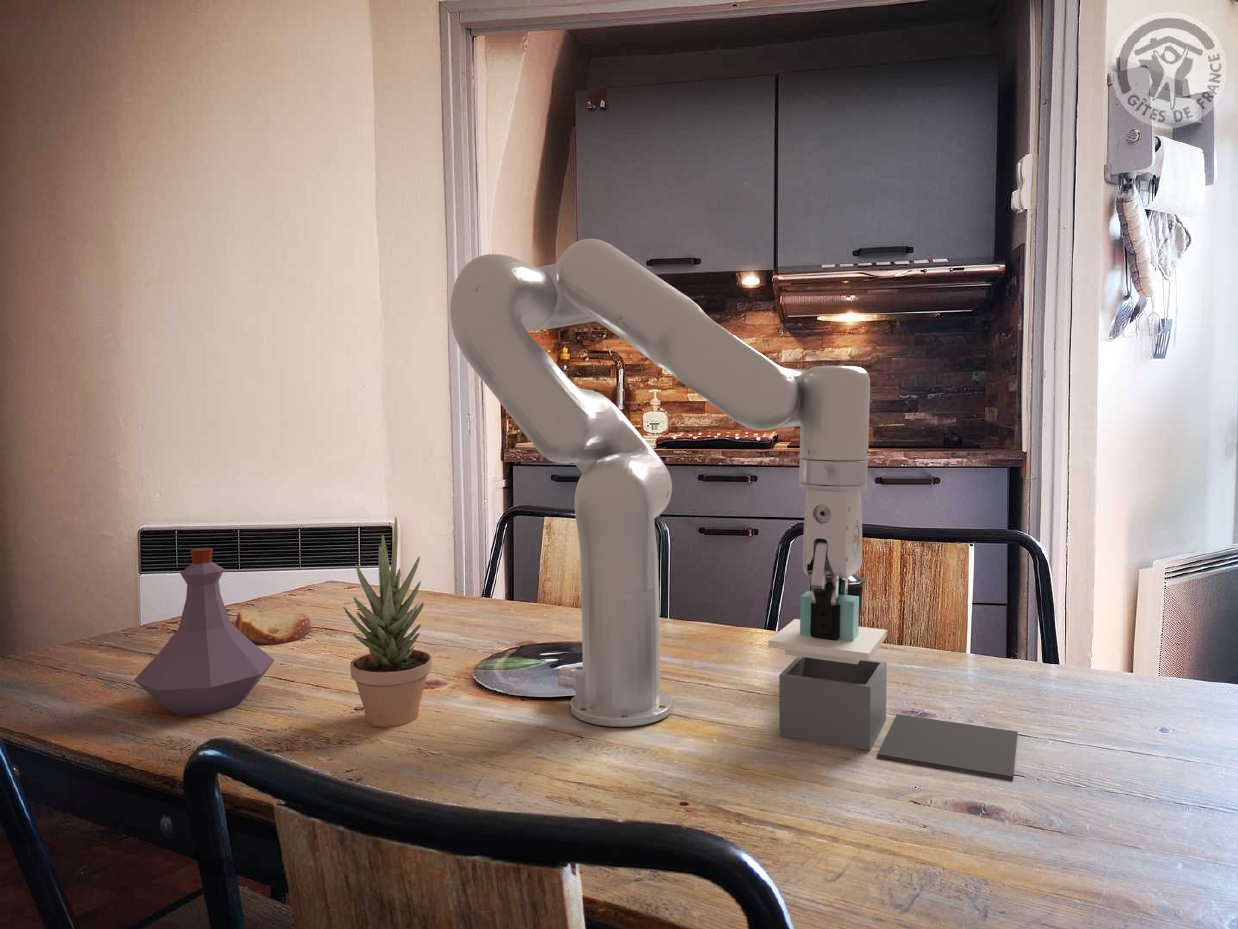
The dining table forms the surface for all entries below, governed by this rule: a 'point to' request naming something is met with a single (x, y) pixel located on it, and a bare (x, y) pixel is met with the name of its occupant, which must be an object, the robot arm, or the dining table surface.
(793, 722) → the storage box
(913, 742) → the mat
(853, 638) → the lid
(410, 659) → the potted plant
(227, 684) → the flask
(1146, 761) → the dining table surface
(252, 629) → the slice of bread
